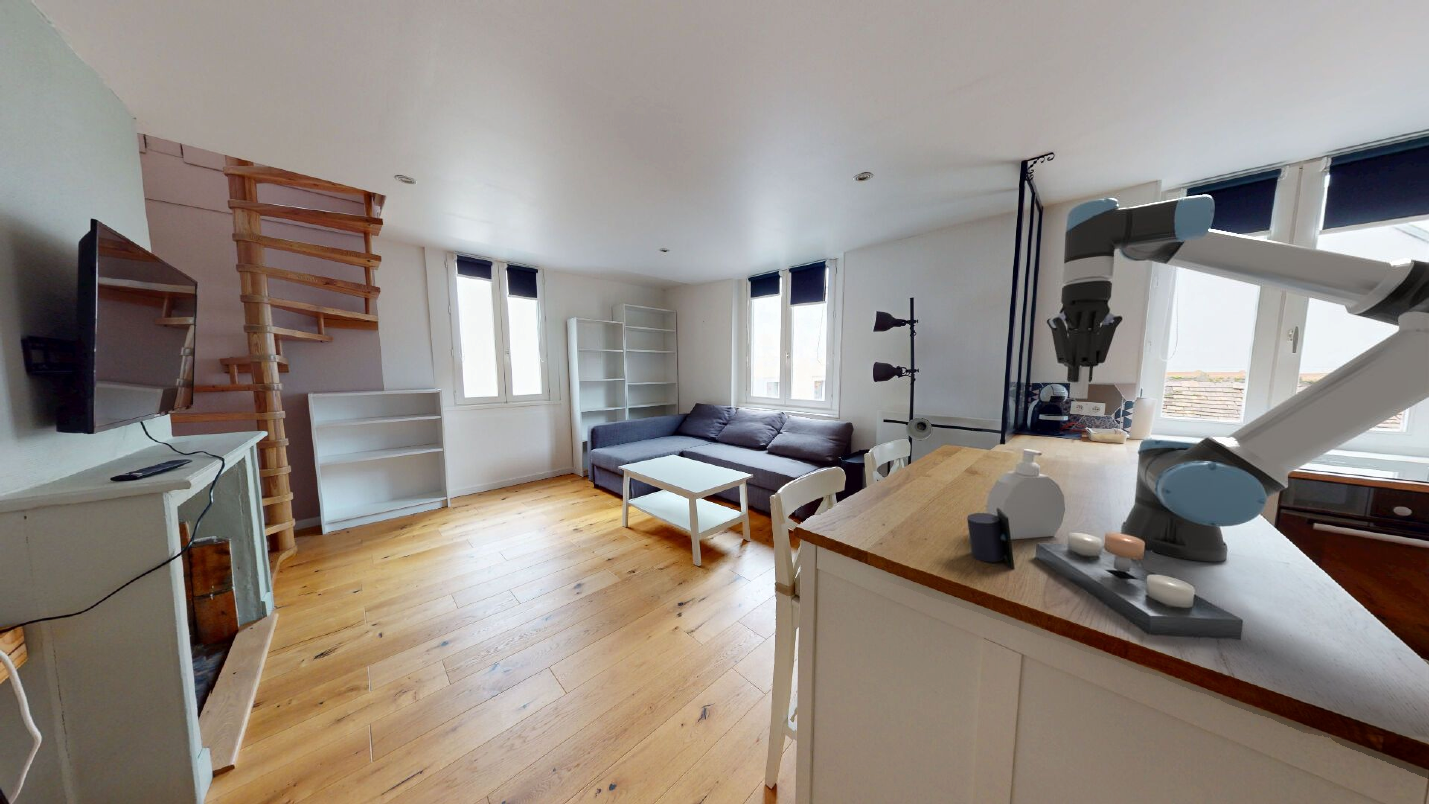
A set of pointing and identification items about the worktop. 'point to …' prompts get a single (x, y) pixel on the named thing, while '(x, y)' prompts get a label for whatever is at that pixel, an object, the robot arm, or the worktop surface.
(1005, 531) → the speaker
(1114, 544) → the knob middle
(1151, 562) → the worktop surface
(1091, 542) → the knob
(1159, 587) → the knob
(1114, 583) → the mount
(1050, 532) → the soap bottle
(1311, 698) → the worktop surface
